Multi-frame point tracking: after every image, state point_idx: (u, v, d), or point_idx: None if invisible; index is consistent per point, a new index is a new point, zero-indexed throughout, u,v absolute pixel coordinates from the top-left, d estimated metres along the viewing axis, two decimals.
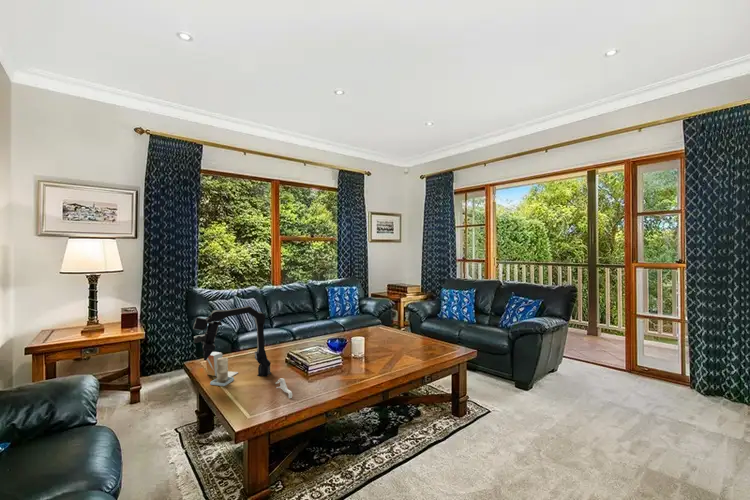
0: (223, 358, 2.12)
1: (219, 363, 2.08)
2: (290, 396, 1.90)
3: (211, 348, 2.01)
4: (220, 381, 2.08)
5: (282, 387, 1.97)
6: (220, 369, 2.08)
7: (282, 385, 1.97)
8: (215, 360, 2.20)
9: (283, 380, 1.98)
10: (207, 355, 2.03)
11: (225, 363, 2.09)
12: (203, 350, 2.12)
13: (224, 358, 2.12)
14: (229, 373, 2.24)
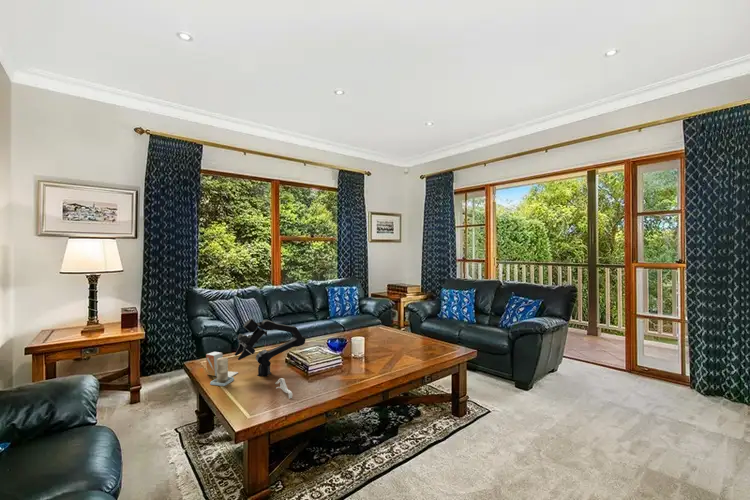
0: (223, 358, 2.12)
1: (219, 363, 2.08)
2: (290, 396, 1.90)
3: (251, 351, 2.11)
4: (220, 381, 2.08)
5: (282, 387, 1.97)
6: (220, 369, 2.08)
7: (282, 385, 1.97)
8: (215, 360, 2.20)
9: (283, 380, 1.97)
10: (243, 356, 2.12)
11: (225, 363, 2.09)
12: (237, 350, 2.20)
13: (224, 358, 2.12)
14: (229, 373, 2.24)
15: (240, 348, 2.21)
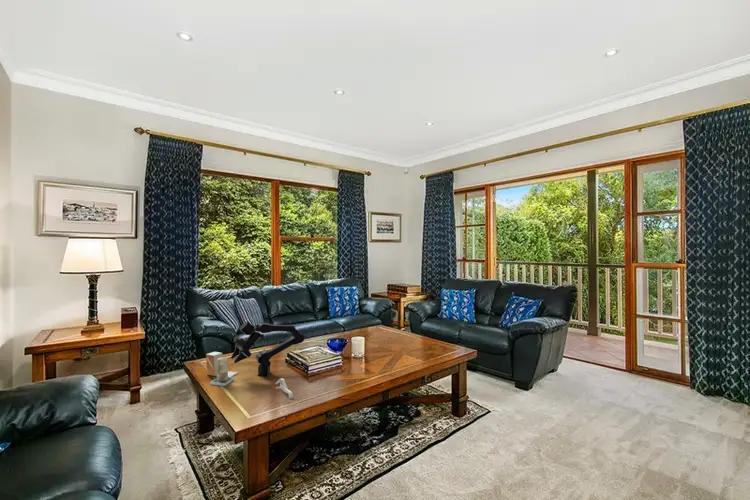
0: (223, 358, 2.12)
1: (219, 363, 2.08)
2: (290, 396, 1.90)
3: (247, 354, 2.10)
4: (220, 381, 2.08)
5: (282, 387, 1.97)
6: (220, 369, 2.08)
7: (282, 385, 1.97)
8: (215, 360, 2.20)
9: (283, 380, 1.97)
10: (239, 359, 2.11)
11: (225, 363, 2.09)
12: (233, 353, 2.19)
13: (224, 358, 2.12)
14: (229, 373, 2.24)
15: (236, 351, 2.20)
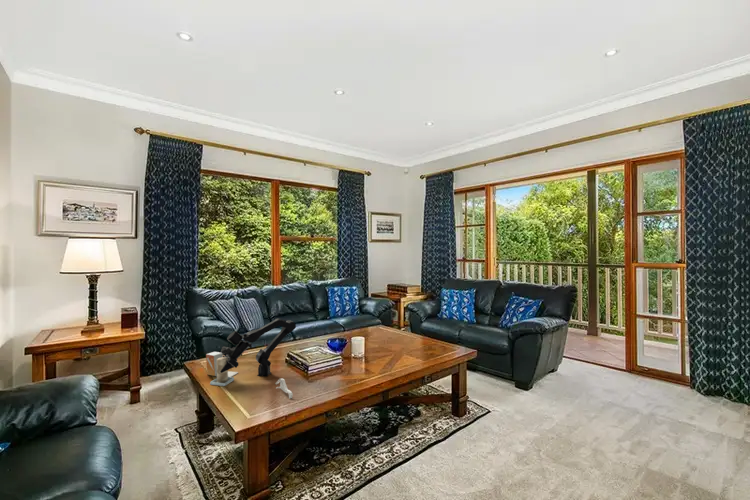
0: (223, 358, 2.12)
1: (219, 363, 2.08)
2: (290, 396, 1.90)
3: (235, 365, 2.06)
4: (220, 381, 2.08)
5: (282, 387, 1.97)
6: (220, 369, 2.08)
7: (282, 385, 1.97)
8: (215, 360, 2.20)
9: (283, 380, 1.97)
10: (226, 369, 2.08)
11: (225, 363, 2.09)
12: None
13: (224, 358, 2.12)
14: (229, 373, 2.24)
15: None
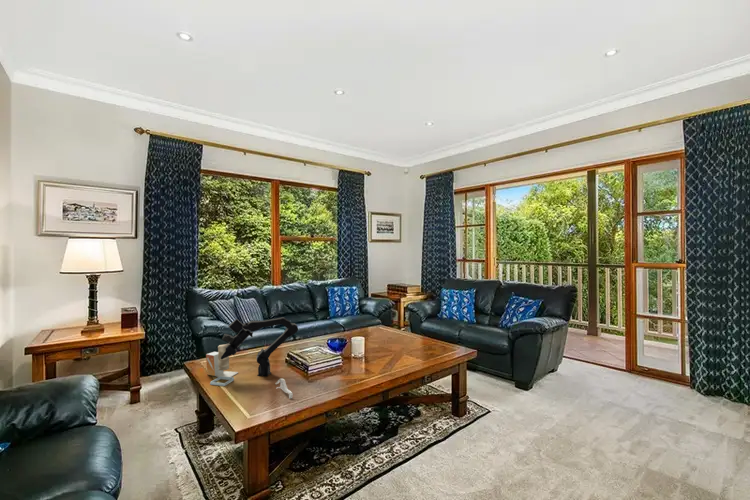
0: (224, 345, 2.17)
1: (219, 350, 2.13)
2: (290, 396, 1.90)
3: (232, 352, 2.09)
4: (221, 367, 2.14)
5: (282, 387, 1.97)
6: (220, 356, 2.13)
7: (282, 385, 1.97)
8: (215, 360, 2.20)
9: (283, 380, 1.97)
10: (225, 355, 2.13)
11: (225, 350, 2.14)
12: None
13: (225, 345, 2.17)
14: (229, 373, 2.24)
15: None
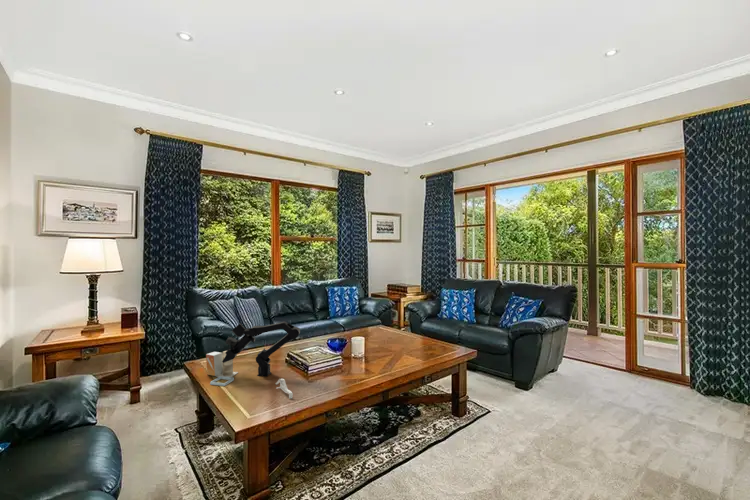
0: None
1: (223, 355, 2.20)
2: (290, 396, 1.90)
3: (231, 356, 2.14)
4: (223, 373, 2.20)
5: (282, 387, 1.96)
6: None
7: (282, 385, 1.96)
8: (215, 360, 2.20)
9: (283, 380, 1.97)
10: (226, 359, 2.17)
11: None
12: None
13: None
14: None
15: None
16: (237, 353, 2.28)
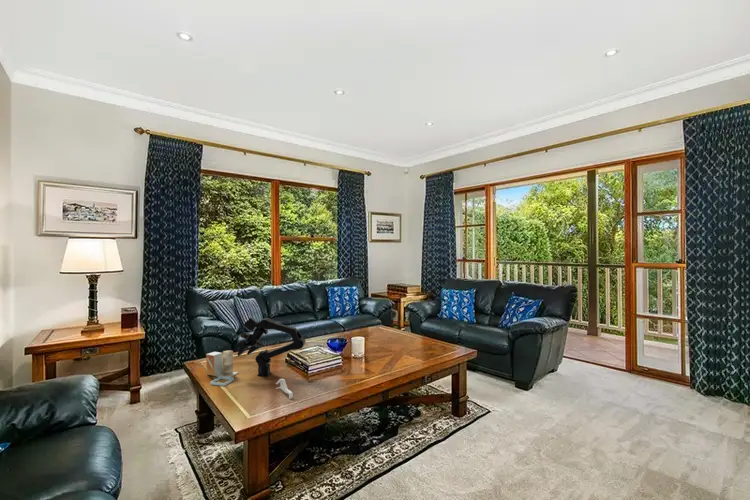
0: (229, 351, 2.23)
1: (223, 355, 2.21)
2: (291, 396, 1.90)
3: (241, 347, 2.16)
4: (223, 372, 2.20)
5: (282, 387, 1.96)
6: (224, 361, 2.20)
7: (282, 385, 1.96)
8: (215, 360, 2.20)
9: (283, 380, 1.97)
10: (240, 352, 2.20)
11: (228, 356, 2.20)
12: (249, 349, 2.30)
13: (229, 351, 2.23)
14: None
15: (251, 347, 2.30)
16: (255, 349, 2.29)
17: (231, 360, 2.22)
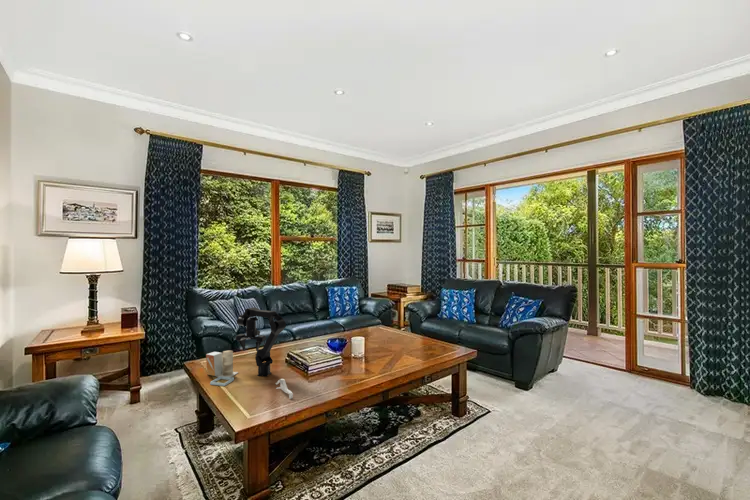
0: (229, 351, 2.23)
1: (223, 355, 2.21)
2: (291, 396, 1.89)
3: None
4: (223, 372, 2.20)
5: (282, 388, 1.96)
6: (224, 361, 2.20)
7: (282, 386, 1.96)
8: (215, 360, 2.20)
9: (283, 381, 1.97)
10: None
11: (228, 356, 2.20)
12: None
13: (229, 351, 2.23)
14: None
15: None
16: None
17: (231, 360, 2.22)
